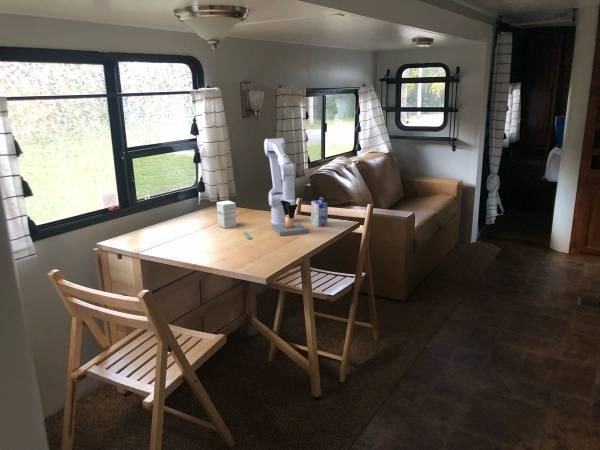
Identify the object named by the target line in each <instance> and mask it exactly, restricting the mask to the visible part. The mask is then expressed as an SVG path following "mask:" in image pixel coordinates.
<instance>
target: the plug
mask: <svg viewBox="0 0 600 450" xmlns="http://www.w3.org/2000/svg"><path fill="white" fill-rule="evenodd" d="M293 223H294V218H291V219H290V218H289V215H286V217H285V228H286V229H288V228H294V227H293Z"/></svg>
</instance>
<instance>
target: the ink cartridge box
mask: <svg viewBox="0 0 600 450" xmlns="http://www.w3.org/2000/svg"><path fill="white" fill-rule="evenodd" d="M323 200H324V197H322V196H320V197H319V199H318V200H311V201H310V202H311V208H310V209H311V211H310V223H311V225H314V226H315V227H316V228H317V227H318V228H320V227H321V228H322V227H324V228H325V227H328V222H329V221H328V219H329V217H328V213H329V212H328V209H329V206H328V205H329V203H327V202H324V201H323Z"/></svg>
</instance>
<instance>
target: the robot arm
mask: <svg viewBox="0 0 600 450" xmlns="http://www.w3.org/2000/svg"><path fill="white" fill-rule="evenodd" d="M285 142H286V141H285V139H284V137H279V138H265V139H264V142H263V148H264V153H265V157H266V156H267V157H268V160H269V166H270V167H269V168H270V173H271V181H272V188H271V189H270V190H269V192H268V204H269V206H270V207H271V209H270V215H271V219H269V222H271V223H272V225H275V224H285V217H286V216H289V218H290V219H291V218H293V219H295V214H296V211H297V208H298V206H299V205H298V203H296V198H295V197H296V195H295V194H296V192H295V191H296V190H295V176H296V175H297V168H296V165H295V163H293V162H292V161H291V159H290V157H289V155H288V154H286V151H285V148H286V143H285Z"/></svg>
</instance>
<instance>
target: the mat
mask: <svg viewBox="0 0 600 450" xmlns="http://www.w3.org/2000/svg"><path fill="white" fill-rule="evenodd" d="M242 233H243V235H244V236H245V238H246V239H247V240H253V237H252V236H251V235H250V234H249V232H248V231H246V230H245V231H242Z"/></svg>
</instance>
